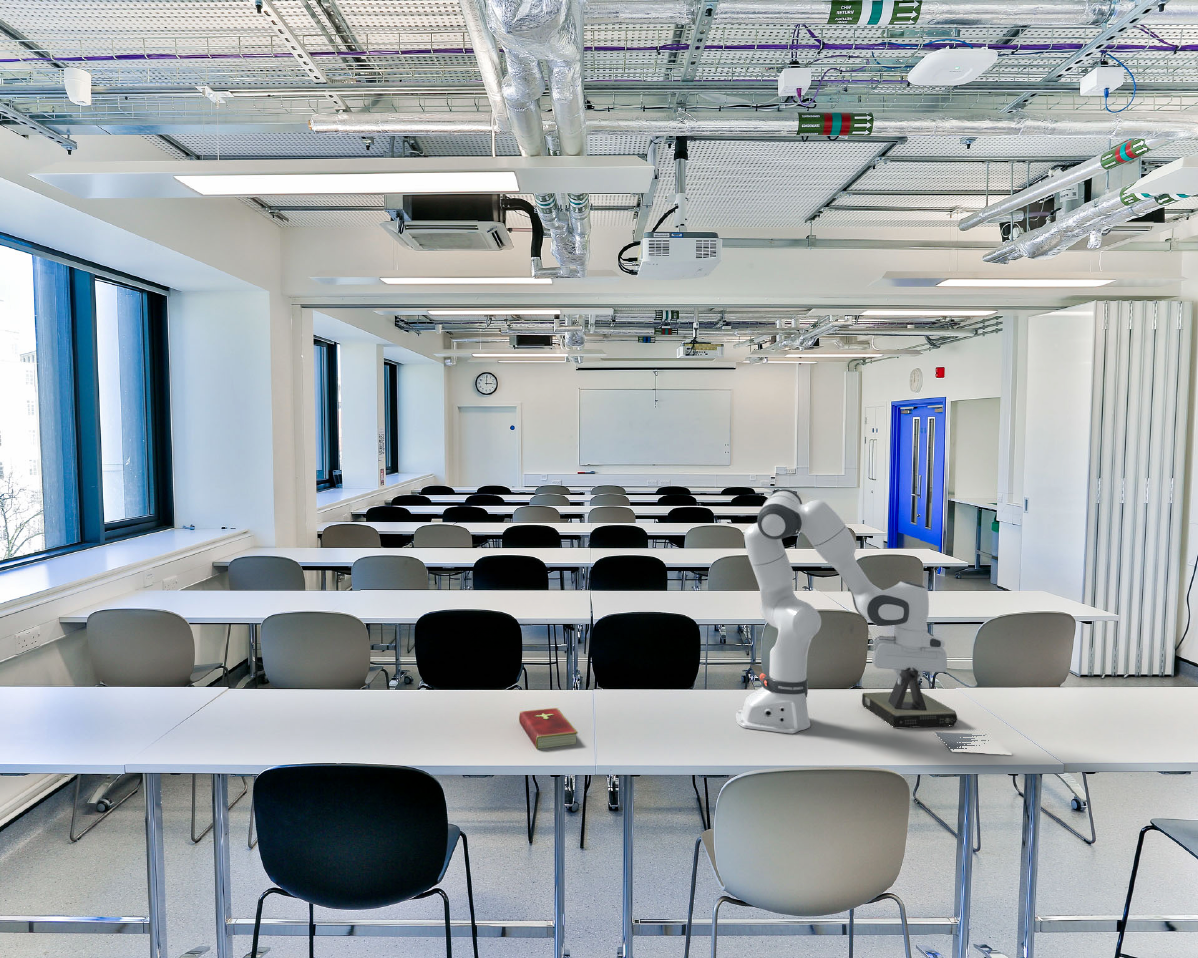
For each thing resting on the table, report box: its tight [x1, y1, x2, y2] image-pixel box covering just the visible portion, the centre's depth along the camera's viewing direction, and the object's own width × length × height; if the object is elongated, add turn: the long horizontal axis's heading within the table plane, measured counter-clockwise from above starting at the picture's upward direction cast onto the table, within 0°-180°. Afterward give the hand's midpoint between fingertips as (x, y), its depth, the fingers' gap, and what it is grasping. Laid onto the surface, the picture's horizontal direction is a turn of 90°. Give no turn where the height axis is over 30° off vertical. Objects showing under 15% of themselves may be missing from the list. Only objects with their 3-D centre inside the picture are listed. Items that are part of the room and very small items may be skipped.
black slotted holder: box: [888, 667, 927, 711], centre depth 216 cm, size 9×6×12 cm, turn 86°
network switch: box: [861, 691, 958, 728], centre depth 238 cm, size 23×24×5 cm
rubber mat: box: [934, 731, 989, 750], centre depth 215 cm, size 16×14×1 cm
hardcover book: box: [518, 707, 578, 750], centre depth 218 cm, size 12×21×4 cm, turn 19°
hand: (907, 684), depth 216 cm, fingers closed on black slotted holder, 2 cm apart
